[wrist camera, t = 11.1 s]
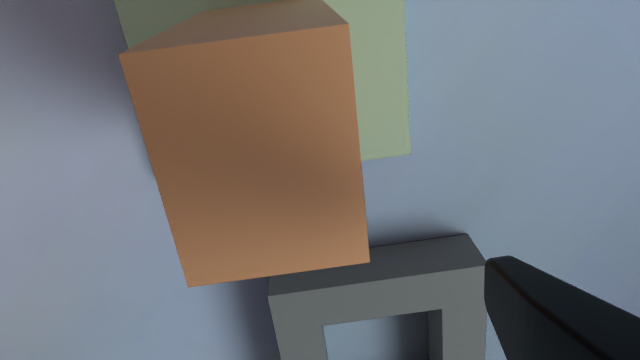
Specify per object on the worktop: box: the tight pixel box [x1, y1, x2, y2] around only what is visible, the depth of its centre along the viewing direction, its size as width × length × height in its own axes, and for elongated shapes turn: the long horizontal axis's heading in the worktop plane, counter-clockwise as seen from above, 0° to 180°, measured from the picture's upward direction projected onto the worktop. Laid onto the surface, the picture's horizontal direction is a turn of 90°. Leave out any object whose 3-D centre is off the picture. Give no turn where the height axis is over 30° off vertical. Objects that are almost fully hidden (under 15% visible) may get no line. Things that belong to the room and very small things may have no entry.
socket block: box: [267, 234, 487, 360], centre depth 23 cm, size 9×10×2 cm
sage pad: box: [114, 0, 411, 161], centre depth 17 cm, size 10×8×1 cm
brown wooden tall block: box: [118, 0, 370, 287], centre depth 13 cm, size 4×5×9 cm
